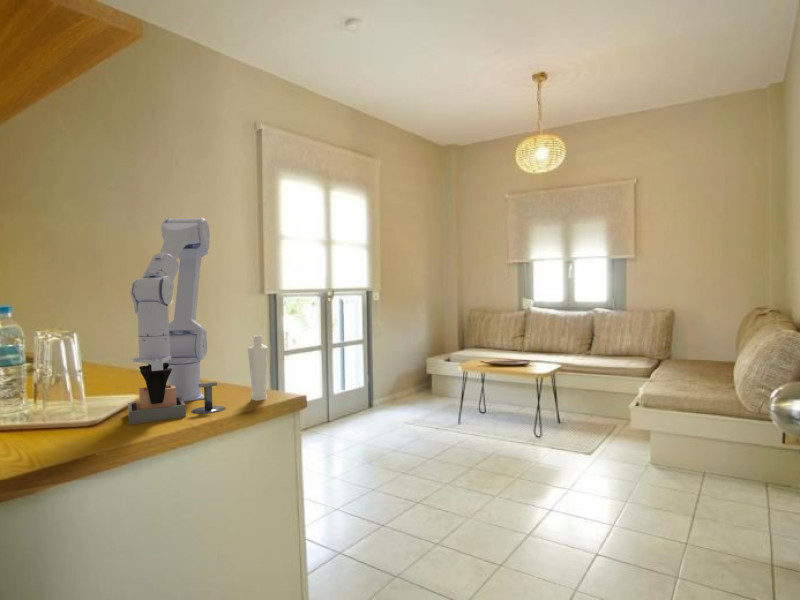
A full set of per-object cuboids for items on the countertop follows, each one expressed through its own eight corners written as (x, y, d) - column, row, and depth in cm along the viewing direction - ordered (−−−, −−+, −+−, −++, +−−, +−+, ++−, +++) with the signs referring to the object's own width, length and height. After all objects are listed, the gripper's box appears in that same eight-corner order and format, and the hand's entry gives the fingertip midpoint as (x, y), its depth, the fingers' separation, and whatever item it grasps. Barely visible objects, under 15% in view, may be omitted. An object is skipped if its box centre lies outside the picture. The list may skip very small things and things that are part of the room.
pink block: (174, 402, 105) (173, 384, 105) (176, 407, 102) (176, 387, 101) (136, 407, 102) (135, 388, 102) (137, 412, 98) (136, 392, 98)
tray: (128, 415, 103) (127, 403, 103) (181, 408, 108) (180, 396, 108) (129, 425, 95) (128, 412, 95) (186, 417, 101) (185, 404, 100)
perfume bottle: (251, 397, 118) (249, 335, 117) (269, 396, 118) (268, 334, 118) (247, 402, 113) (245, 337, 113) (266, 401, 114) (265, 336, 113)
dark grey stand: (189, 409, 107) (188, 382, 107) (222, 405, 111) (221, 378, 111) (193, 416, 101) (192, 387, 101) (228, 411, 105) (227, 383, 104)
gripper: (131, 334, 106) (133, 396, 106) (132, 339, 93) (135, 410, 93) (167, 331, 109) (169, 392, 109) (173, 337, 97) (176, 405, 97)
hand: (156, 400), depth 102 cm, fingers closed on pink block, 4 cm apart
